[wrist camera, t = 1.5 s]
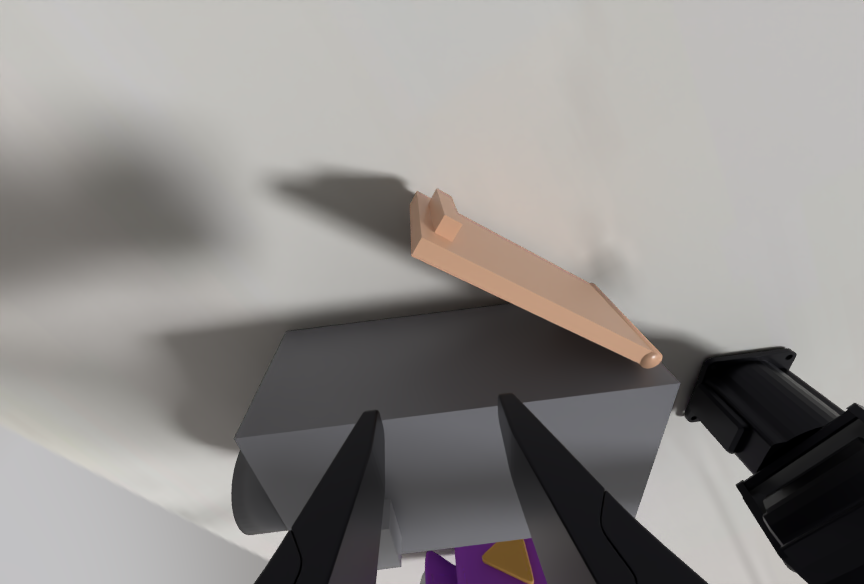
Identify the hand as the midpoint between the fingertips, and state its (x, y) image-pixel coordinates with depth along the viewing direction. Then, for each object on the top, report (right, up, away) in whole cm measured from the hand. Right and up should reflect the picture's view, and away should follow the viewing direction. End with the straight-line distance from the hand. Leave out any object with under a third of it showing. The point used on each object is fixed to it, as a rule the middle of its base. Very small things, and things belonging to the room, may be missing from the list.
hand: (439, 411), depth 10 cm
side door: (+4, +6, +10) cm, 12 cm away
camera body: (0, -3, +16) cm, 16 cm away
